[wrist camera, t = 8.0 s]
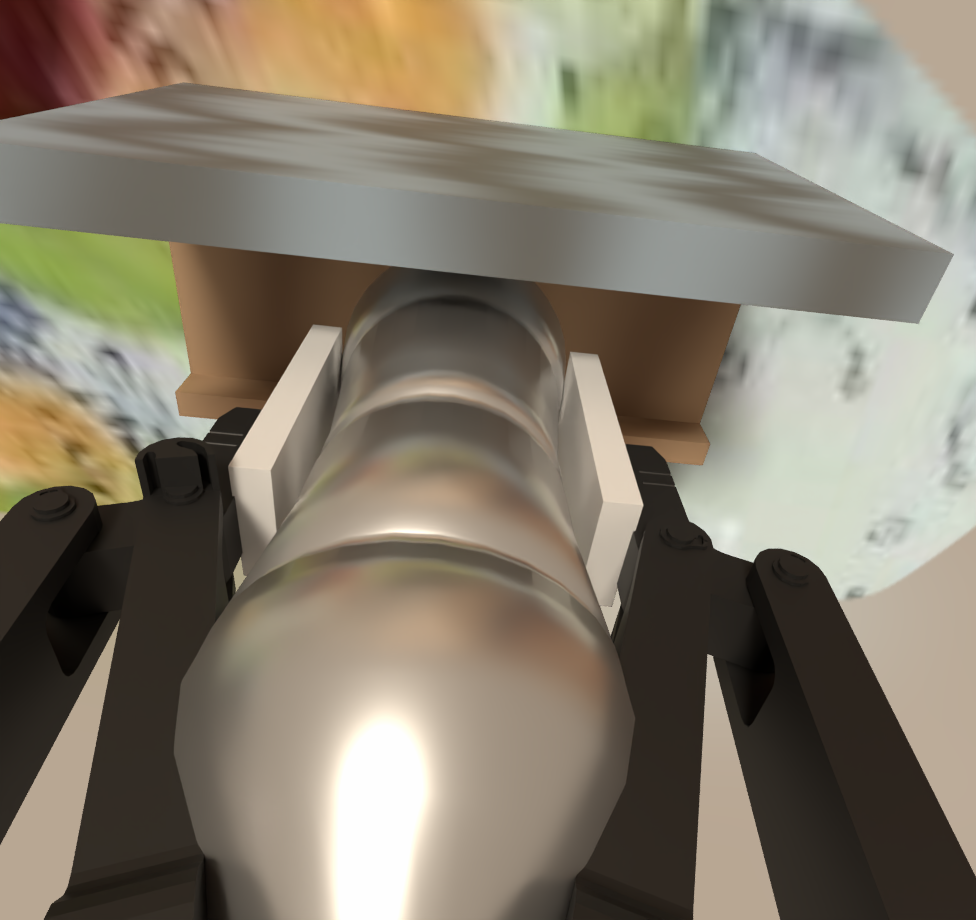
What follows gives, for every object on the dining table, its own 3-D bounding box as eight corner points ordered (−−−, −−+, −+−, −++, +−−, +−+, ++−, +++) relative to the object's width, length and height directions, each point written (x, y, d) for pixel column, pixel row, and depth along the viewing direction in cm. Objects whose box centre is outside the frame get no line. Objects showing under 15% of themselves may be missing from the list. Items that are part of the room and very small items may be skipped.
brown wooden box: (221, 362, 28) (71, 553, 18) (183, 82, 22) (-73, 134, 12) (675, 407, 29) (770, 610, 19) (755, 153, 23) (953, 254, 13)
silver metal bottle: (580, 242, 19) (1066, 1523, 3) (535, 431, 23) (635, 1454, 7) (364, 206, 19) (-556, 1520, 2) (355, 406, 23) (-24, 1446, 6)
